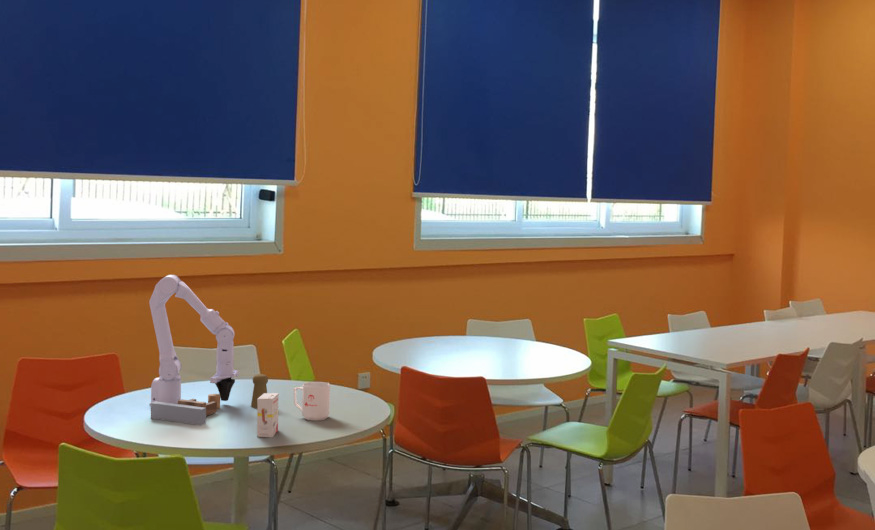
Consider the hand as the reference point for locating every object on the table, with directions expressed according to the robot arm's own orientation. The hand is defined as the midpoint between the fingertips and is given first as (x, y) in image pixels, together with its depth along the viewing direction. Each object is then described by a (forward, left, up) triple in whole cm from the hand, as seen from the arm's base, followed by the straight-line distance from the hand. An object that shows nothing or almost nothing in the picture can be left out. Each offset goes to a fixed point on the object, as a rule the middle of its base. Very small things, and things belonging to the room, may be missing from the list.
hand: (224, 400), depth 309 cm
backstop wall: (0, -26, -1) cm, 26 cm away
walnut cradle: (0, -16, -1) cm, 16 cm away
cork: (+12, +3, -2) cm, 13 cm away
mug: (+35, -3, -2) cm, 35 cm away
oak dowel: (0, -6, -1) cm, 6 cm away
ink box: (+33, -27, -2) cm, 43 cm away
